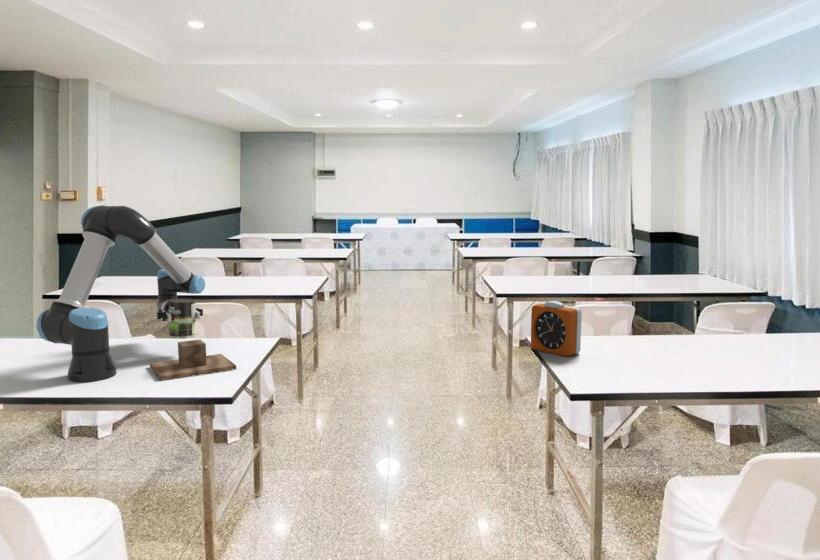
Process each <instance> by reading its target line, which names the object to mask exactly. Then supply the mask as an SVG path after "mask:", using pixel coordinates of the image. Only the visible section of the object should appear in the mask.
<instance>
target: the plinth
mask: <svg viewBox="0 0 820 560" xmlns="http://www.w3.org/2000/svg"><path fill="white" fill-rule="evenodd" d="M206 347H207V344H206V343H205V341H203V340H202V339H194V340H185V341H177V352H178V353H177V354H178V359H174V360H164V361H159V362H158V361H157V362H150V363H149V368H150V369H151V371H152V372H153V373H154V374H155V376H156V377H157V378H158V379H159V381H162V380H163V381H168V380H174V379H175V378H176V379H181V378H182V377H183V378H188V377H187V376H189V377H193V376H192V375H196V376H200V375H199V374H203V375H206V374H205V373H209V374H213V373H212V372H216V373H220V372H219V371H223V372H227V371H226V370H229V371H233V370H232V369H236V370H237V365H236V364H235V363H233V362H232V361H231V360H230V359H229V358H227V357H226V356H225V355H223V354H222V353H217V354H211V355H207V348H206Z"/></svg>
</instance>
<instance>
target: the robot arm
mask: <svg viewBox="0 0 820 560" xmlns="http://www.w3.org/2000/svg"><path fill="white" fill-rule="evenodd" d="M80 224H81V229H82V233H81V235H82V237H83V241H82V244H81V247H80V249H79V251H78V254H77V255H76V258H75V261H74V263H73V265H72V267H71V269H70V270H71V271H70V272H69V275H68V277H67V279H66V281H65V284H64V286H63V289H62V291H61V293H60V296H59V298H58V299H54V300H53V301H52V302H51V305H50V307H49V308H48V309H46V310H44V311H42V312H41V313H39V315H38V317H37V320H36V331H37V332H38V335H39V337H41V338H42V339H43V340H45V341H46V342H50V343H52V344H53V343H54V344H63V345H68V346H69V345H71V355H72V356H71V360H70V362H69V367H68V370H67V379H68V380H69V381H71V382H78V383H79V382H80V383H84V382H86V383H87V382H94V381H95V382H96V381H102V380H106V379H109V378H111V377H114V376H115V375H117V365H116V364H115V361H114V359H113V357H112V355H111V351H110V340H109V339H110V338H109V337H110V336H109V321H108V317H107V313H106V312H105V310H103V309H99V308H96V307H86V303H87V301H88V299H89V297H90V294H91V292H92V289H93V287H94V284H95V282H96V279H97V277H98V275H99V272H100V269H101V267H102V266H103V262H104V260H105V257H106V255H107V252H108V250H109V248H111V247H114V246H115V245H116V243H117V239H118V238H125V239H128V240H130V241H131V243H133V244H134V245H136V246H140V247H141V248H142V250H144V251H145V252H146V253H147V255H148V256H150V258H151V259H152V260H153V261H154V262H155V263H156V264H157V265H158V266H159V267H160V268H161V269H159V270H157V279H156V281H157V293H158V294H157V302H156V307H157V312H156V319H157V320H161V319H162V322H166V321H167V322H168V323H169V322H171V314H169V311H168V301H169V300H172V299H178V293H179V294H181V293H183V294H191V295H193V294H195V295H196V294H201V293H203V292H204V290H205V288H206V280H205V278H204V277H203V276H200V275H194V273H193V272H192V271H191V270H190V269H189V268H188V267H187V265H186V264H184V263H183V261H182V260H181V259H180V258H179V257H178V256H177V254H176V253H174V251H173V250H172V249H171V248H170V247H169V245H167V243H166V242H165V241H164V240H163V239H162V238H161V237H160V236H159V234H158V233H157V231H156V228H155V226H154V225H153V224H152V223H151V222H150V220H148V219H147V218H146V217H145V216H144V215H142V214H141V213H140V212H138V211H137V210H135V209H133V208H132V207H130V206H129V207H128V206H126V205H103V204H102V205H96V206H92V207H89V208H88V209H86V210H85V211H84V212H83V214H82V216H81V220H80ZM202 316H204V309H202V308H199V307H196V320H201V317H202Z"/></svg>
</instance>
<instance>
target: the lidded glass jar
mask: <svg viewBox="0 0 820 560" xmlns="http://www.w3.org/2000/svg"><path fill="white" fill-rule="evenodd" d="M196 303H197V300H196V298H195V299H194V298H177V299H172V300H169V301H168V311H169V314H171V322H169V321H168V332H169V335H168V337H169V338H171V339H188V338H189V339H190V338H194V337H196V336H197V335H198V334H197V318H196V308H197V307H196Z"/></svg>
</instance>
